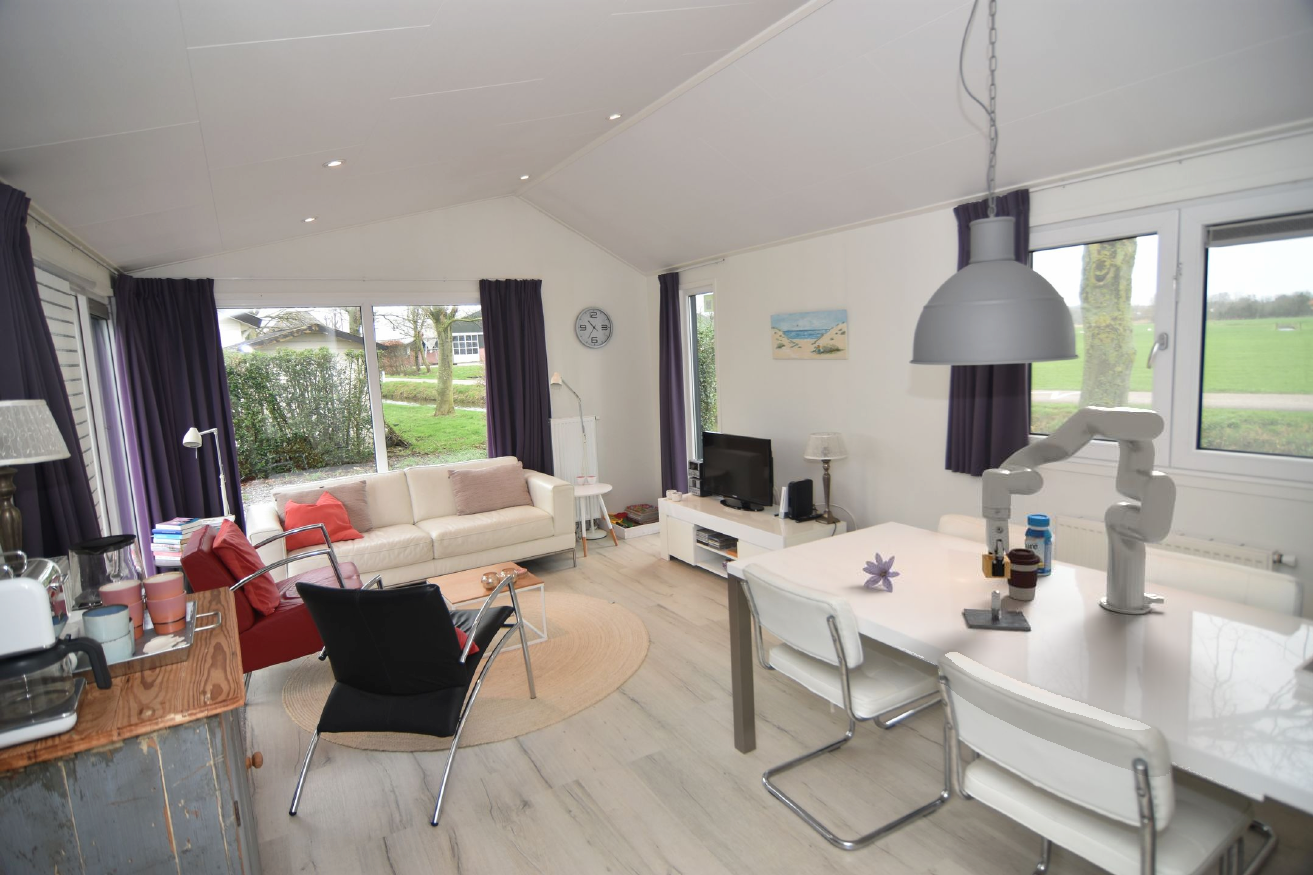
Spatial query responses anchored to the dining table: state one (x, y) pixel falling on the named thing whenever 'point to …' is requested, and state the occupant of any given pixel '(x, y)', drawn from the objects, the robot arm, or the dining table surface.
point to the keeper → (996, 617)
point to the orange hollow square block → (987, 566)
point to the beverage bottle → (1040, 541)
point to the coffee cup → (1022, 573)
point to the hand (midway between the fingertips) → (995, 571)
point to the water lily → (880, 572)
